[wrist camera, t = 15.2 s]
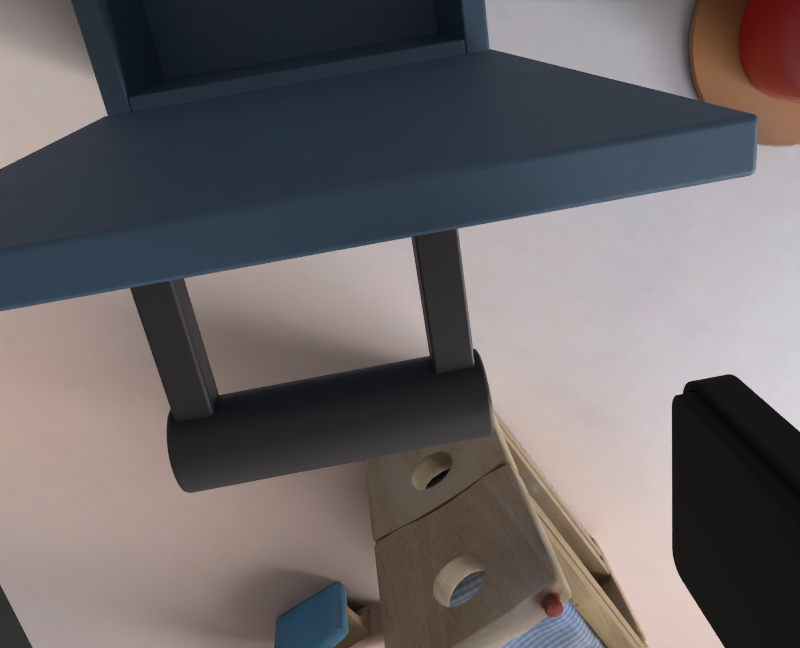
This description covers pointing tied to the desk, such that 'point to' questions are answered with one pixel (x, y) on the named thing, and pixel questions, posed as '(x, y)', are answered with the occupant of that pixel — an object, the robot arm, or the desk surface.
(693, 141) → the lid
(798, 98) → the can
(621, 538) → the desk surface
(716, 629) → the robot arm
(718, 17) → the coaster
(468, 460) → the dollhouse furniture set
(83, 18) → the blue rectangular box
